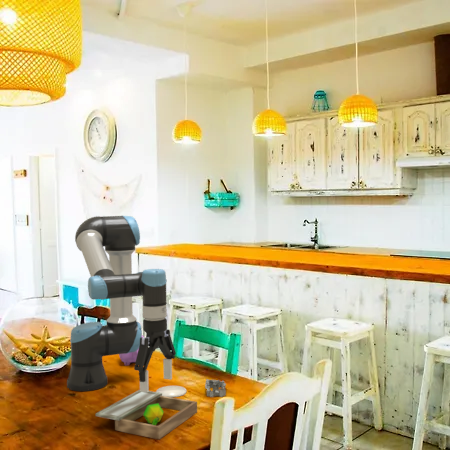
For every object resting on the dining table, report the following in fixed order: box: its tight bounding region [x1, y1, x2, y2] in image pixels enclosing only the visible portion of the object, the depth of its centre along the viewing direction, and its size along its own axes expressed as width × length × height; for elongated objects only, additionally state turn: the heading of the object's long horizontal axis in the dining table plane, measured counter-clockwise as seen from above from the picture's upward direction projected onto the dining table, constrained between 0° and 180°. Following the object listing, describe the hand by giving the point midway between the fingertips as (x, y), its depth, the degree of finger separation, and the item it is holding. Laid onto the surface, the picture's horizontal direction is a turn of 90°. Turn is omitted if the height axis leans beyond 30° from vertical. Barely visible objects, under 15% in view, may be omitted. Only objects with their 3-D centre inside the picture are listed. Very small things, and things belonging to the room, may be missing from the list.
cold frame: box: [95, 389, 198, 440], centre depth 176 cm, size 23×24×4 cm
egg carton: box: [204, 378, 227, 398], centre depth 201 cm, size 11×8×4 cm
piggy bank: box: [118, 334, 145, 366], centre depth 241 cm, size 20×12×13 cm, turn 14°
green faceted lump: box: [143, 404, 164, 426], centre depth 172 cm, size 7×6×9 cm
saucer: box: [155, 385, 187, 398], centre depth 201 cm, size 11×11×1 cm
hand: (156, 385), depth 173 cm, fingers open, 13 cm apart
